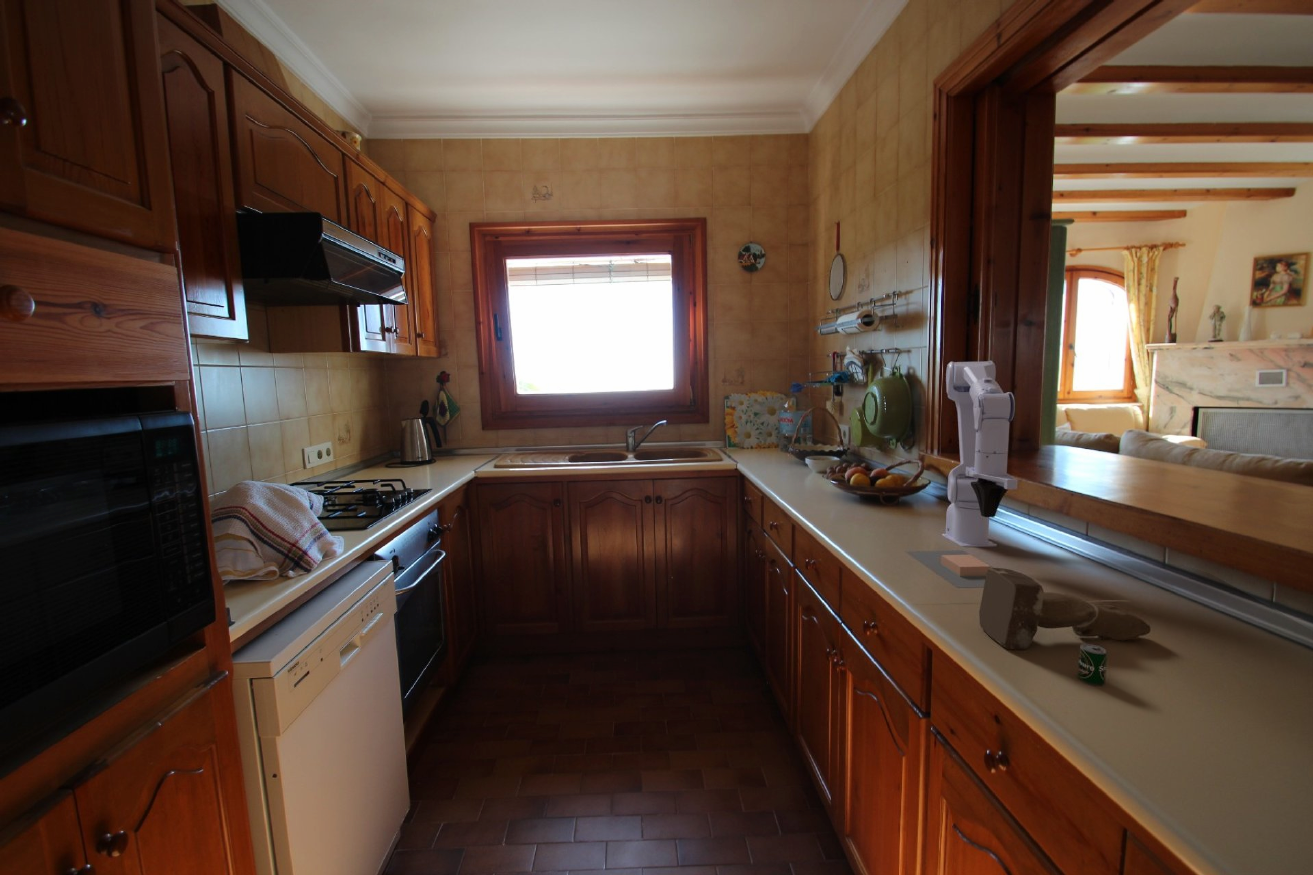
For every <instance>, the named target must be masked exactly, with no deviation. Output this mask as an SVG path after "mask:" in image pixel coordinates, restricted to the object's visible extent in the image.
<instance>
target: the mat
mask: <svg viewBox="0 0 1313 875" xmlns="http://www.w3.org/2000/svg"><path fill="white" fill-rule="evenodd" d="M905 553H906V554H908V555H909V556H910V557H912V558H913V559H915V560H917V562H919V563H920V564H922V565H923V566H925V567H926V568H928V569H929V570H931V571H932V572H934V573H935V574H936V575H937V576H940V577H941V578H942V579H944V580H945V581H947V582H949V584H951V585H952V586H953V587H955V588H958V589H960V588H961V589H963V588H964V589H965V588H967V589H970V588H984V584H985V580H986V576H972V577H959V576H958V575H956V574H955V573H953V572H952V571H950V570H949V569H947V568H946V567H944V566H943V565H941V555H971V554H970V553H968V552H967V551H964V550H963V549H962V550H960V549H959V550H921V551H920V550H919V551H917V550H916V551H915V550H914V551H911V550H910V551H905ZM972 556H973V557H975V556H974V555H972ZM979 560H980V561H982V560H981V559H979ZM982 562H984V561H982ZM988 565H989V566H991V565H990V564H988ZM991 568H994V567H993V566H991Z"/></svg>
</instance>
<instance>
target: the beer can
mask: <svg viewBox="0 0 1313 875" xmlns="http://www.w3.org/2000/svg"><path fill="white" fill-rule="evenodd" d="M1079 647H1080V648H1079V652H1078V665H1077V677H1078V678H1079V679H1080V680H1081V681H1082V682H1083V683H1086V684H1089V685H1093V686H1102V685H1105V683H1106V675H1107V665H1108V664H1107V662H1108V655H1107V653H1108V652H1107V650H1106V649H1105V648H1104V647H1102V646H1100V645H1096V644H1091V643H1082V644H1081V645H1080V646H1079Z"/></svg>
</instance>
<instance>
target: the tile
mask: <svg viewBox="0 0 1313 875" xmlns="http://www.w3.org/2000/svg"><path fill="white" fill-rule="evenodd" d="M973 556H974V555H972V554H970V555H941V565H943V566H944V567H946V568H947V569H949V570H950V571H952V572H953V573H955V574H956V575H958V576H959V577H972V576H986V574H987V571H988V569H989V568H991V565H990V564H987V563H986V562H984V561H983V562H982V560H981V559H979V558H977V557H975V556H974V557H973ZM980 560H981V561H980ZM989 565H990V566H989Z"/></svg>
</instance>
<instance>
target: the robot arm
mask: <svg viewBox="0 0 1313 875" xmlns="http://www.w3.org/2000/svg"><path fill="white" fill-rule="evenodd" d="M996 369H997V368H996V364H995V363H994V362H993V360H988V361H986V360H985V361H957V362H956V361H955V362H954V361H950V362H949V363H948V364H947V366H946V373H945V376H946V377H945V382H946V383H945V384H946V385H945V387H946V394H947V398H948V399H949V400H951V401H953V402H955V407H956V411H957V422H958V423H957V425H958V440H959V441H958V444H959V459H960V464H958V465H957V466H955V467H954V468H952V469H951V470H950V472H949V474H948V477H947V479H948V480H947V498H948V501H949V502H950V505H949V506H948V507H947V509H946V518H945V519H946V520H945V533H942V534H941V536H942V537H944V538H946V539H947V540H949V541H951V542H953V543H955V544H957V545H959V546H960V547H963V548H976V547H977V548H980V547H981V548H982V547H997V543H995V542H993V541H991V540H989V530H990V529H989V527H990V518H994V517H995V516H996V515H997V514H996V513H997V511H998V508H999V506H1000V503H1001V502H1002V499H1003V497H1004V496H1005V494H1007V492H1008V491H1009V490H1017V489H1018V484H1019V483H1018V479H1017V478H1014V477H1013V476H1011V475H1010V474H1008V473H1007V472H1008V471H1007V470H1008V458H1009V457H1008V454H1009V436H1010V422H1012V421H1013V418H1014V417H1015V411H1016V408H1015V407H1016V406H1015V405H1016V404H1015V403H1016V401H1015V397H1014V394H1013V392H1011V391H1010V392H1005V393H1004V391H1003V389H1002V388H1001V387H1000V386H1001V385H999V383H998V382H997V381H996V375H997V374H996V373H997V372H996Z"/></svg>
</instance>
